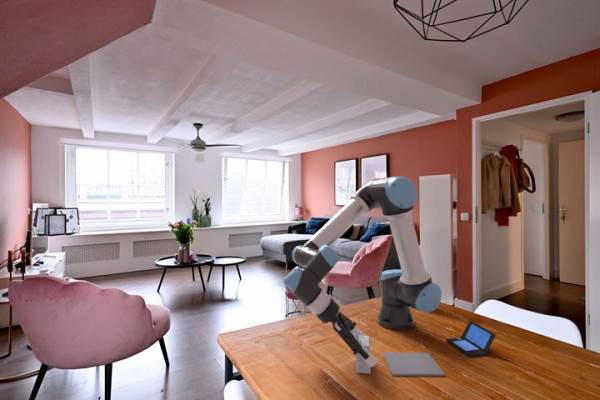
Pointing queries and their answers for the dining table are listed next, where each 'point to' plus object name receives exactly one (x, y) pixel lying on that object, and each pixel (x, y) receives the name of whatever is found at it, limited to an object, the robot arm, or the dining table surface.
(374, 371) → the dining table surface
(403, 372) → the mat
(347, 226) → the robot arm
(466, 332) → the handheld game console
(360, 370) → the medicine box
